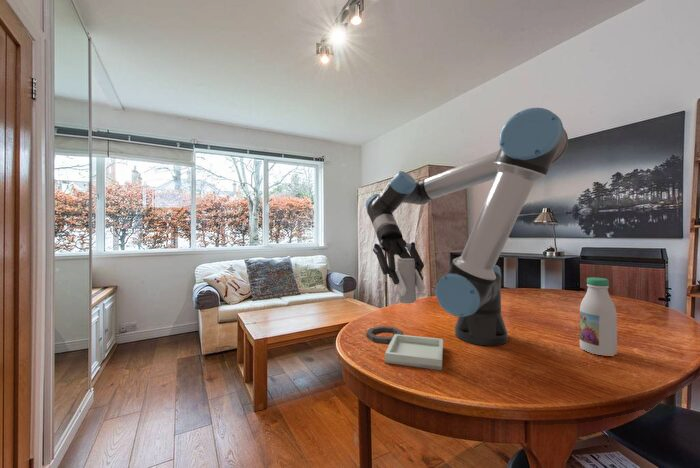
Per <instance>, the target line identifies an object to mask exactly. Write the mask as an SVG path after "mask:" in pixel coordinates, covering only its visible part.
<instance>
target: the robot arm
mask: <svg viewBox="0 0 700 468" xmlns="http://www.w3.org/2000/svg"><path fill="white" fill-rule="evenodd" d="M498 141H499V142H498V143H499V147H500V148H499V150H497V151H494V152H492V153H489V154H486V155H484V156H481V157H478V158H476V159H473V160H471V161H468V162H466V163H463V164H461V165H458V166H455V167H452V168H449V169H447V170H445V171H442V172H440V173H437V174H435V175H432V176H429V177H426V178H424V179H422V180H420V181H416V179H414V178H413V177H412V175H410V174H409V173H408V172H406V171H401V170H400V171H398V172H397V173H396V174H395V175H394V176H393V177H391V179H390V180H389V182H388V183H387V184H386V186H384V187H383V189H382V190H381V192H380V193H375V194H372V195H371V196H369V197H367V199H366V202H365V208H366V213H367V215H368V217H369V219H370V221H371V224H372V227H373V229H374V231H375V234H376V237H377V240H378V243H379V244H378V243H375V244H374V246H373V249H372V252H373V253H374V254H375V255H376V258H377V260H378V263H379V266H380V269H381V272H382V274H383V275H385V276H386V275H388V278H391V279H392V283H393V284H394V285H396V287H397V289H399V291H400V294H401V296H404V295H405V293H406V291H407V289H406V287H405V284H404V282H403V279H402V277H401V275H400V272H399V270H398V269H397V270H396V260H395V256H398V257H399V259H402V258H412V259H414V261H415V283H416V288H417V289H416V290H417V291H418V293H419V295H423V293H424V292H425V290H426V286H425V284H424V282H423V280H424V277H423V274H422V273H421V272H422V271H423V269H424V268H425V264H424V262H423V260H422V258H421V257H420V254H419V252H418V250H417V248H416V243H415V242H413V241H412V242H411V243H409V242H407V241H406V240H405V239H404V238H403V237H404V236H403V234H402V232H401V231H402V230H401V229H400V227H399V225H398V223H397V221H396V219H395V216H394V214H393V213H394V212H395V211H396V210H397V209H398V208H399V206H401V204H403V203H405V204H414V205H418V206H419V205H425V204H428V203H429V202H430V201H431V200H434V199H437V198H440V197H443V196H447V195H450V194H452V193H455V192H459V191H462V190H464V189H467V188H471V187H474V186H477V185H480V184H483V183H486V182H489V181H492V184H491V186H490V187H489V191H488V193H487V195H486V198H485V200H484V201H483V203H482V207H481V209H480V211H479V213H478V216H477V218H476V220H475V222H474V226H473V227H472V228H471V229H472V230H471V233H469V237H468V239H467V240H466V243H465V246H464V248H463V251H462V252H461V255H460V256H458V257H456V258H453V259H452V262H451V264H450V266H449V268H448V271H447V273H446V274H445V275H443V276H441V277H440V278H439V280H438V281H437V283H436V286H435V298H436V299H437V301H438V304H439V305H440V307H441V308H442V309H443V310H444V311H445V312H447V314H450V315H451V316H454V317H457V320H456V323H455V326H454V334H455V336H456V338H458V339H460V340H461V341H463V342H467V343H470V344H473V345H474V344H475V345H478V346H488V347H489V346H490V347H491V346H500V345H504V344H506V343H507V342H508V341H509V336H508V330H507V326H506V324H505V322H504V319H503V316H502V282H501V281H502V272H501V271H502V270H501V267H500V266H499V265H497V262H498V260H499V257H500V256H501V254H502V252H503V249H504V247H505V245H506V243H507V241H508V239H509V236H510V235H511V232H512V230H513V229H514V226H515V224H516V221H518V220H517V219H518V218H519V215H520V214H521V211H522V209H523V207H524V206H525V203H526V201H527V199H528V197H529V194H530V193H531V190H532V188H533V187H534V184H535V182H537V181H539V180H541V179H543V178H545V177H546V175H547V173H548V171H549V169H550V168H551V166H552V165H554V164H555V163H557V161H559V160H560V159H561V158H562V157H563V156H564V154H565V153H566V151H567V149H568V143H569V138H568V133H567V131H566V129H565V128H564V126H563V122H562V119H561V118H560V117H559V116H558V115H557V114H556V113H554V112H553V111H552V110H549V109H547V108H544V107H531V108H525V109H522V110H521V111H518V112H516V113H515V114H513V115H512V116H510V118H508V120H506V122H505V123H504V124H503V126H502V128H501V130H500V133H499V140H498ZM384 252H385V253H386V255H385V254H384ZM386 257H387V259H386ZM387 260H388V261H387Z"/></svg>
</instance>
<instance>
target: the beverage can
mask: <svg viewBox="0 0 700 468" xmlns="http://www.w3.org/2000/svg"><path fill="white" fill-rule="evenodd" d="M396 264H397V266H396V267H397V271H398V270H399V272H400V275H401V277H402V279H403V282H404V284H405V287H406V289H407V291H406V293H405V295H404V296H401V294H400V291H399V289H398V288H397V289H398V294H397V295H398V296H397V297H398V301H399V303H401V304H414V303H415V302H416V301H417V291H416V290H417V289H416V288H417V287H416V283H415V261H414V259H412V258H397V263H396Z"/></svg>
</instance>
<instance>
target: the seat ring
mask: <svg viewBox="0 0 700 468" xmlns="http://www.w3.org/2000/svg"><path fill="white" fill-rule="evenodd" d="M381 332H386V333H387V332H388V333H391V334H392V333H393V334H400V335H404V332H403V331H402V330H400V329H399V328H397V327H394V326H386V325H385V326H383V325H382V326H380V325H379V326H375V327H370V328H369V329H368V330H367V331H366V334H365V335H366V338H367V339H369V340H370V341H371V342H374V343H383V344H390V342H391V340H392V338H393V336H394V335H392V336H388V337H387V336H386V337H385V336H376V335H375V334H376V333H381Z"/></svg>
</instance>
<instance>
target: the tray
mask: <svg viewBox="0 0 700 468" xmlns="http://www.w3.org/2000/svg"><path fill="white" fill-rule="evenodd" d="M393 334H394V333H393ZM392 336H393V338H392V340H391V342H390V343H388V346H387V348H386V350H385V352H384V363H386V364H392V365H401V366H407V367H415V368H421V369H429V370H435V371H436V370H438V371H443V359H444V357H443V356H444V355H443V354H444V338H440V337H439V338H436V337H428V336H418V335H417V336H416V335H408V334H403V335H400V334H394V335H392Z"/></svg>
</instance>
